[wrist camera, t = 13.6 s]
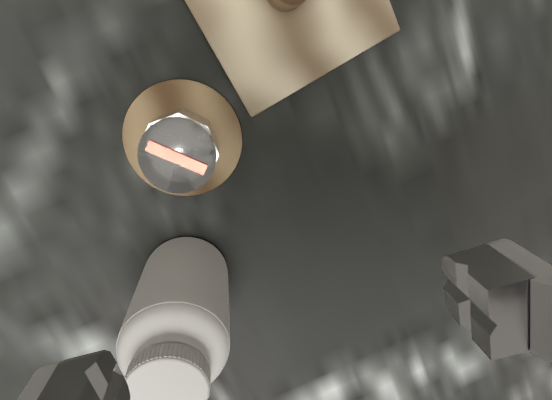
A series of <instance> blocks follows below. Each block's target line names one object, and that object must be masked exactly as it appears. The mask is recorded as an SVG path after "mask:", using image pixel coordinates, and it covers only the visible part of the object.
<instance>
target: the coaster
mask: <svg viewBox="0 0 552 400" xmlns="http://www.w3.org/2000/svg"><path fill="white" fill-rule="evenodd" d="M181 108H185V109H187V110H189V111H191V112H193V113H196V114H198V115H200V116H202V117H204V118H206V119H208V120H209V121H210V123H211V126H212V129H213V131H214V134H215V136H216V139H217V141H218V144H219V157H218V159H217V161H216V165H215V169H214V171H213V173H212V175H211V177H210V178H209V180H208V181H207V182H206V183H205V184H204V185H203V186H201V187H200V188H198V189H196V190H194V191H191V192H188V193H170V192H166V191H163V190H161V189H159V188H157V187H156V186H154V185H153V184H152V183H150V182H149V181H148V180H147V178H146V177H145V176H144V174H143V173H142V171H141V169H140V166H139V163H138V157H137V150H138V145H139V142H140V139H141V137H142V135H143V134H144V133H145V131H146V129H147V126H148V124H149V123H150V122H151V121H153V120H154V119H155V118H156V117H158V116H161V115H164V114H167V113H170V112H172V111H175V110H178V109H181ZM122 136H123V145H124V150H125V153H126V156H127V158H128V160H129V162H130V164H131V166H132V167H133V169H134V170H135V171H136V173H137V174H138V175H139V176H140V177H141V178H142V179H143V180H144V181H145V182H147V183H148V184H149V185H151V186H153V187H154V188H156V189H158V190H160V191H163V192H165V193H169V194H172V195H179V196H192V195H198V194H202V193H205V192H208V191H210V190H212V189H214V188H216V187H217V186H219V185H220V184H222V183H223V182H224V181H225V180H226V179H227V178H228V177H229V176H230V175H231V173H232V172H233V170H234V169H235V167H236V165H237V163H238V161H239V158H240V155H241V149H242V132H241V127H240V124H239V121H238V118H237V116H236V114H235V112H234V110H233V108H232V107H231V105H230V104H229V103H228V102H227V101H226V99H225V98H224V97H223V96H222V95H220V94H219V93H218V92H217V91H215V90H214V89H212V88H211V87H209V86H207V85H205V84H202V83H199V82H196V81H192V80H184V79H176V80H168V81H163V82H160V83H158V84H155V85H153V86H151V87H149V88H148V89H146V90H145V91H143V92H142V93H141V94H140V95H139V96H138V97H137V98H136V99H135V100H134V102H133V103H132V104H131V106H130V108H129V109H128V111H127V114H126V116H125V120H124V124H123V132H122Z"/></svg>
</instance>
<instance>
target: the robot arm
mask: <svg viewBox="0 0 552 400" xmlns="http://www.w3.org/2000/svg"><path fill="white" fill-rule="evenodd" d="M441 267H442V273H443V274H444V275H445V276H446V277H447V278H448V281H447V282H446V284H445V286H444V295H445V301H446V303H447V306H448V309H449V311H450V313H451V314H452V316H453V317H454V319H455V320H456V321H457V322H458V324H459V325H460V326H462V327H465V328H467V329H470V330H471V331H472V340H473V341H474V342H475V343H476V344H477V345H478V346H479V347H480V348H481V350H482V351H483V352H484V353H485V354H486V355H487V356H488V357H489V359H490V360H491V361H492V360H496V359H499V358H503V357H507V356H511V355H515V354H519V353H523V352H527V351H530V353H532V354H534V355H536V356H538V357H540V358H542V359H544V360H546V361H549V362H551V363H552V265H550V264H549V263H547V262H545V261H544V260H542V259H541V258H539V257H537V256H536V255H534V254H532V253H531V252H529V251H527V250H526V249H524V248H523V247H521V246H519V245H518V244H516V243H514V242H513V241H511V240H510V239H504V238H502V239H499V240H496V241H493V242H490V243H486V244H483V245H482V246H478V247H475V248H471V249H468V250H464V251H461V252H457V253H454V254H451V255H447V256H444V257H442V261H441ZM116 363H117V362H116V361H115V359H114V357H113V355H112V354H111V352H110V351H107V350H102V351H98V352H94V353H90V354H86V355H82V356H78V357H74V358H71V359H67V360H64V361H59V362H55V363H52V364H48V365H45V366H42V367H40V368H39V369H37V370H36V371H35V373H34V374H33V376H32V377H31V379H30V381H29V382H28V384H27V385H26V387H25V388H24V390H23V391H22V393H21V394H20V396H19V397H18V399H17V400H130V391H129V387H128V384H127V382H126V380H125V378H124V377H123V376H122V375H120V374H118V373H116V372H114V369H115V366H116Z"/></svg>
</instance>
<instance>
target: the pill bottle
mask: <svg viewBox="0 0 552 400" xmlns="http://www.w3.org/2000/svg"><path fill="white" fill-rule="evenodd" d="M229 351H230V320H229V288H228V269H227V265H226V262H225V260H224V258H223V256H222V254H221V253H220V252H219V250H218V249H217V248H216V247H214V246H213V245H212V244H210V243H208V242H207V241H204V240H202V239H199V238H194V237H179V238H175V239H171V240H169V241H167V242H165V243H163V244H161V245H160V246H159V247H157V248H156V249H155V250H154V251H153V253H152V254H151V255H150V257H149V258H148V260H147V262H146V264H145V267H144V270H143V272H142V275H141V277H140V280H139V282H138V285H137V288H136V290H135V293H134V295H133V298H132V301H131V303H130V306H129V308H128V311H127V314H126V316H125V319H124V321H123V324H122V326H121V329H120V332H119V335H118V338H117V343H116V354H117V361H118V364H119V367H120V370H121V372H122V373H123V375H124V376H125V380H126V382H127V384H128V387H129V391H130V400H208V398H209V394H210V383H212V382H213V381H214V380H215V379H216V378H217V376H218V375H219V374H220V373H221V371H222V369H223V368H224V366H225V364H226V361H227V359H228V356H229Z"/></svg>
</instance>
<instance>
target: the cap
mask: <svg viewBox="0 0 552 400" xmlns="http://www.w3.org/2000/svg"><path fill="white" fill-rule="evenodd" d="M137 157H138V163H139V166H140V169H141V171H142V173H143V174H144V176H145V177H146V178H147V180H148V181H149V182H150V183H152V184H153V185H154V186H156V187H157V188H159V189H161V190H163V191H166V192H170V193H188V192H191V191H194V190H196V189H198V188H200V187H201V186H203V185H204V184H205V183H206V182H207V181H208V180H209V178H210V177H211V175H212V173H213V171H214V169H215V165H216V161H217V159H218V157H219V144H218V141H217V139H216V136H215V134H214V131H213V129H212V126H211V123H210V121H209V120H208V119H206V118H204V117H202V116H200V115H198V114H196V113H193V112H191V111H189V110H187V109H185V108H181V109H178V110H175V111H172V112H170V113H167V114H164V115H161V116H158V117H156V118H155V119H154V120H153V121H151V122H150V123H149V124H148V126H147V129H146V131H145V133H144V134H143V135H142V137H141V139H140V142H139V145H138V150H137Z"/></svg>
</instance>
